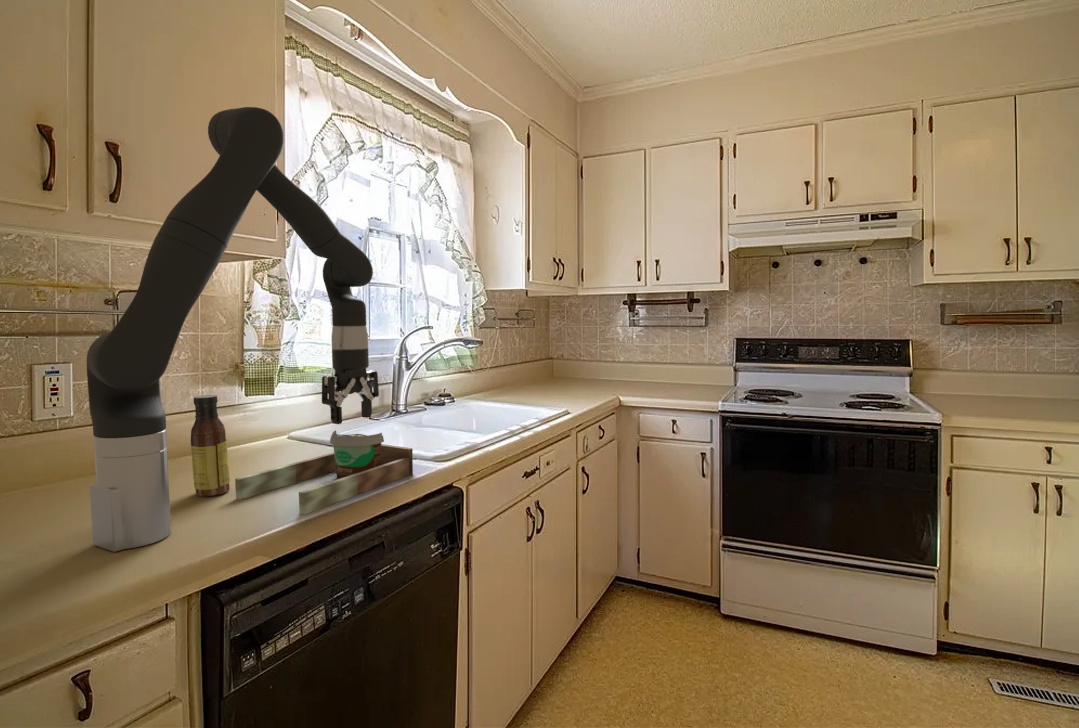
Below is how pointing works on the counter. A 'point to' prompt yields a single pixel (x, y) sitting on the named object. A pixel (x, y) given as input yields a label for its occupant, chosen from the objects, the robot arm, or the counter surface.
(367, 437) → the food container
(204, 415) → the sauce bottle
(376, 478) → the crate bay
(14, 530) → the counter surface
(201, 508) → the counter surface
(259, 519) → the counter surface
